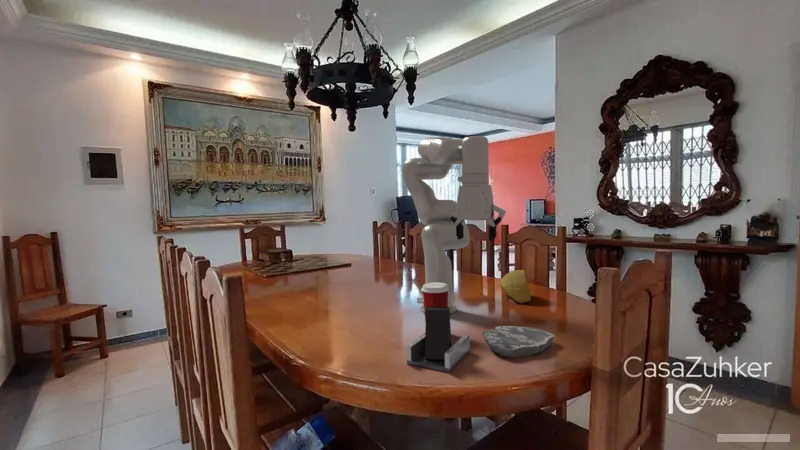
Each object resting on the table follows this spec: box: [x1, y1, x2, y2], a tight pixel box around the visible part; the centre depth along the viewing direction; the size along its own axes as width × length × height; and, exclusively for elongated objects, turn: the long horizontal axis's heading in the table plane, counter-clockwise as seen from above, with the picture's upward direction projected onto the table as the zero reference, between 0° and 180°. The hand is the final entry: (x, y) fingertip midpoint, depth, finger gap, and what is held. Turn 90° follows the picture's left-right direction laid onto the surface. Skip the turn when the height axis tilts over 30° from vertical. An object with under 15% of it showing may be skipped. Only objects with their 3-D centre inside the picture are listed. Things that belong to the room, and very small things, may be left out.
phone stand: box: [424, 307, 453, 360], centre depth 101 cm, size 9×6×12 cm, turn 168°
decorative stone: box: [498, 269, 532, 304], centre depth 155 cm, size 13×15×15 cm
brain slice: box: [482, 325, 555, 359], centre depth 107 cm, size 20×17×3 cm
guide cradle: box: [406, 333, 471, 374], centre depth 101 cm, size 11×14×4 cm
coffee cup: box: [420, 282, 449, 323], centre depth 119 cm, size 8×8×15 cm
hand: (475, 239), depth 115 cm, fingers open, 9 cm apart
